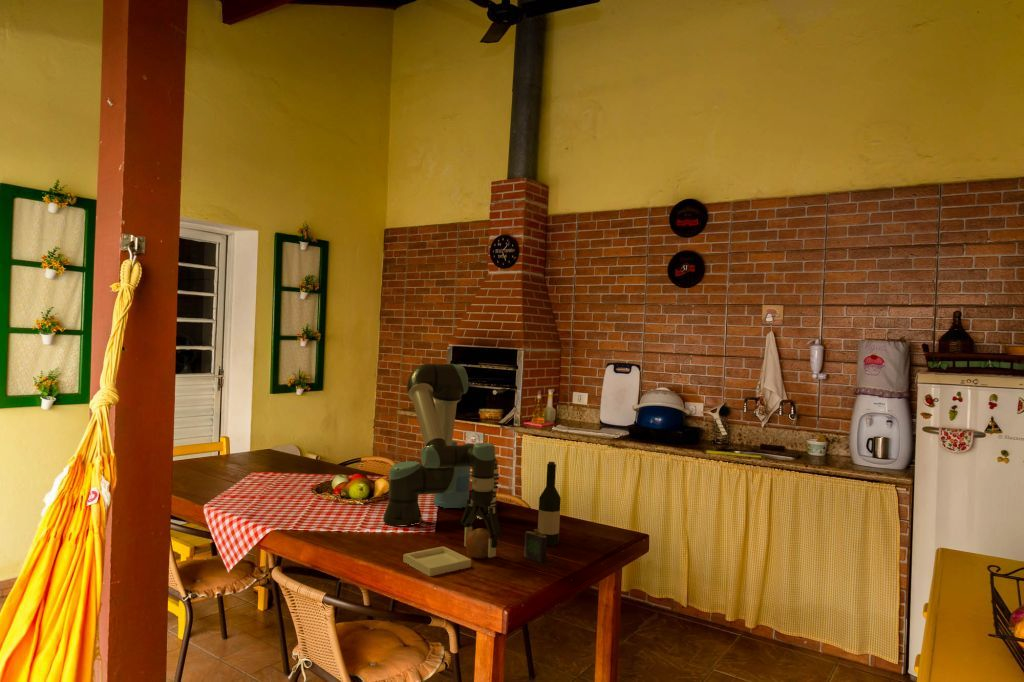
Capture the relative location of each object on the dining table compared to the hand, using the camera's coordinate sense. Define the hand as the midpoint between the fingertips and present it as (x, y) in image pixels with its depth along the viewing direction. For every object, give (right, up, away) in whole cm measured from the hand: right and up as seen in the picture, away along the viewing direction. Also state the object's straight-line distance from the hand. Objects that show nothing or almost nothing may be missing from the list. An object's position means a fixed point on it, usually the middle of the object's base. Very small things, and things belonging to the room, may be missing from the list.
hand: (479, 551), depth 235 cm
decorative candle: (0, -2, +51) cm, 51 cm away
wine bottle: (+24, -3, +21) cm, 32 cm away
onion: (0, -2, 0) cm, 2 cm away
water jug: (-16, -1, +69) cm, 71 cm away
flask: (+19, -3, 0) cm, 19 cm away
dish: (-14, -2, -9) cm, 16 cm away
